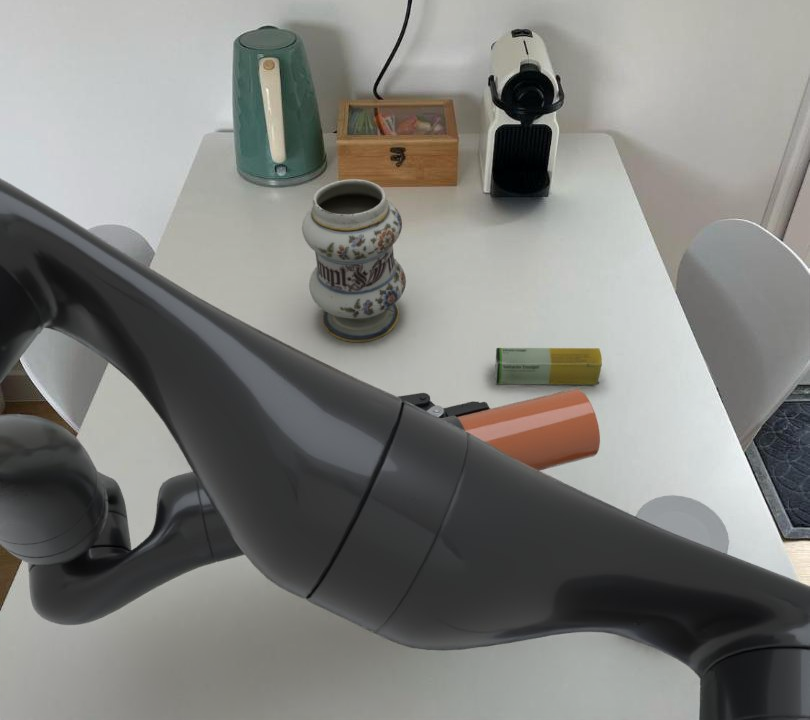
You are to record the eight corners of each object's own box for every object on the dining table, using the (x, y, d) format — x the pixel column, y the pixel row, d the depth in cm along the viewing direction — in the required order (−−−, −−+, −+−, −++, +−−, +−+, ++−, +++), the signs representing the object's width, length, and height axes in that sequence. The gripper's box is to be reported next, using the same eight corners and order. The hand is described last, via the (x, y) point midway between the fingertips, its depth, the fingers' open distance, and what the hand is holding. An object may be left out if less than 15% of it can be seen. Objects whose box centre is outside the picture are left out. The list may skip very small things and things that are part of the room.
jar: (564, 422, 71) (571, 370, 67) (595, 474, 67) (606, 423, 63) (434, 454, 69) (433, 403, 65) (458, 510, 65) (459, 460, 60)
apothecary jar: (365, 277, 111) (356, 159, 99) (426, 317, 104) (424, 196, 92) (295, 317, 105) (276, 196, 93) (354, 362, 99) (342, 238, 86)
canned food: (605, 628, 72) (624, 557, 65) (622, 556, 77) (641, 483, 70) (694, 656, 70) (724, 587, 62) (705, 580, 75) (734, 508, 68)
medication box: (494, 386, 95) (495, 363, 92) (494, 368, 97) (495, 346, 94) (598, 386, 94) (603, 363, 91) (596, 368, 96) (600, 345, 93)
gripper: (315, 538, 55) (544, 477, 58) (277, 395, 65) (474, 350, 68) (325, 598, 60) (535, 539, 63) (289, 456, 70) (471, 412, 73)
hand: (502, 441), depth 66 cm, fingers closed on jar, 6 cm apart
